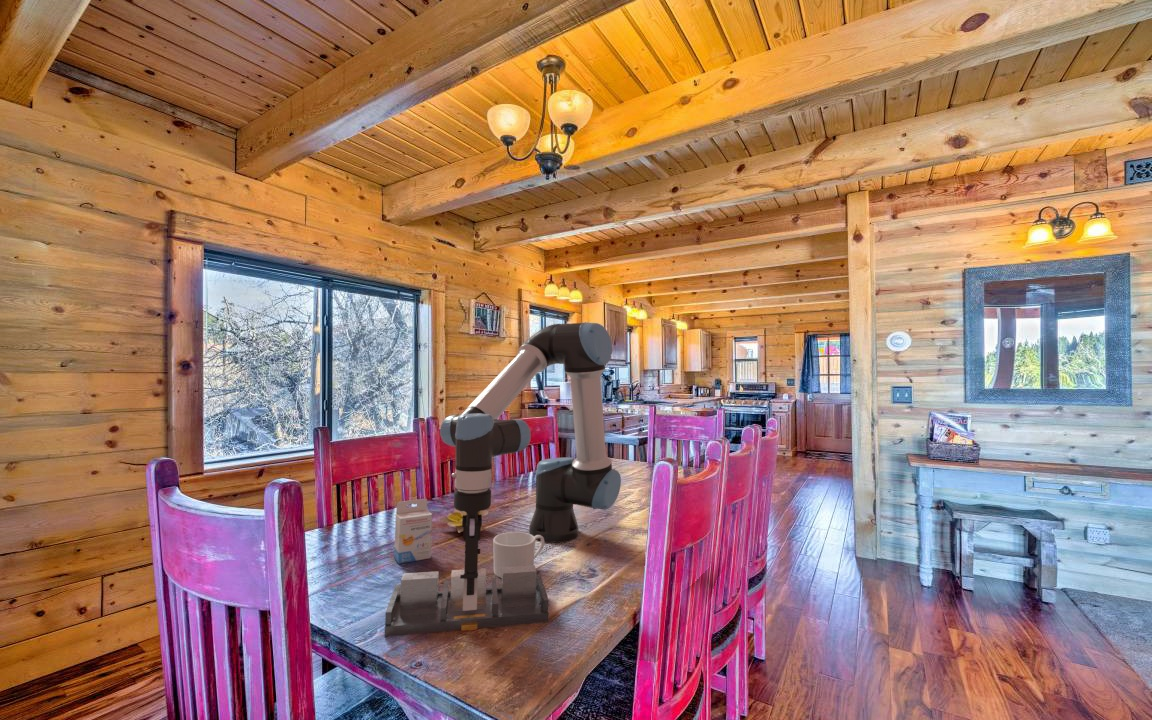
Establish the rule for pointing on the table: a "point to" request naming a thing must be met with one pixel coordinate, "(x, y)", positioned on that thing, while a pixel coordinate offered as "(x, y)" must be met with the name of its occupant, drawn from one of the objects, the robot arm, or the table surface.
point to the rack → (504, 607)
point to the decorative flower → (459, 519)
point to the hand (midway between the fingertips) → (470, 597)
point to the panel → (457, 590)
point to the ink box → (412, 531)
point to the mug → (514, 550)
